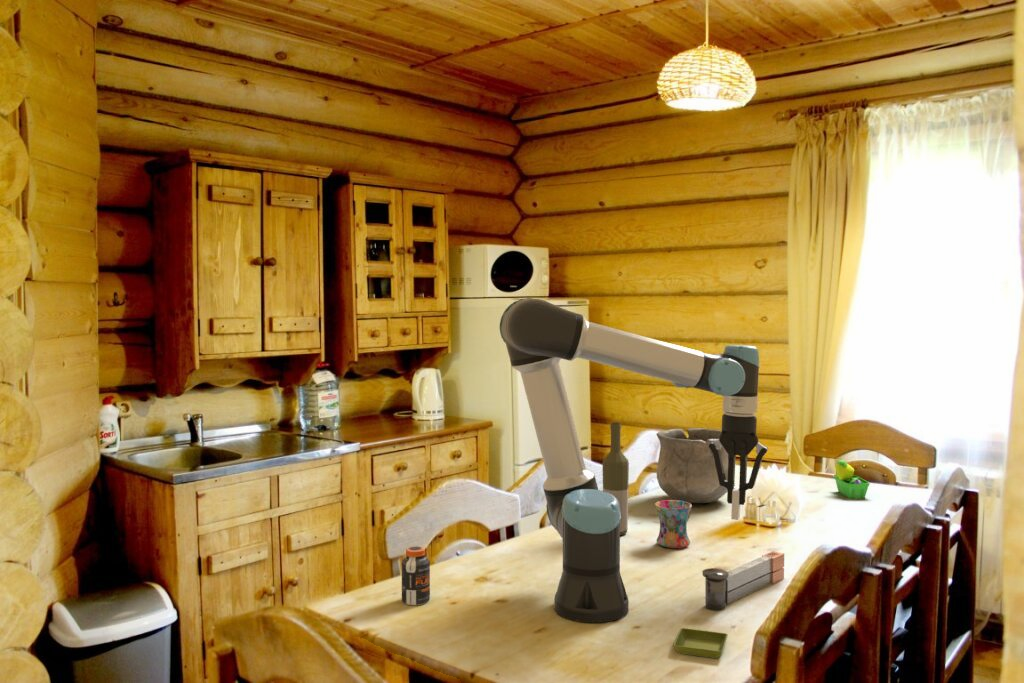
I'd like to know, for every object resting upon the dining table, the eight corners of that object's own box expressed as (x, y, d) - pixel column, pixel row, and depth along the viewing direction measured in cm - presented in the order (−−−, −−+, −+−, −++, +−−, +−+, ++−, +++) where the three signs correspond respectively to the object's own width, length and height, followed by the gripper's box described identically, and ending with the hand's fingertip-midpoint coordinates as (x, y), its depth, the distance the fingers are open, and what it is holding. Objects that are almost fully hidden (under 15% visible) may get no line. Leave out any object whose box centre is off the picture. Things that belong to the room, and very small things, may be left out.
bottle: (621, 538, 221) (621, 425, 219) (597, 534, 225) (597, 423, 223) (633, 532, 227) (633, 422, 225) (610, 528, 231) (610, 420, 229)
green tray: (672, 656, 149) (672, 645, 149) (680, 638, 158) (680, 627, 158) (722, 663, 146) (722, 652, 146) (728, 644, 155) (728, 633, 154)
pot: (677, 489, 278) (677, 424, 276) (746, 498, 264) (746, 431, 263) (642, 504, 257) (642, 435, 256) (715, 515, 244) (715, 442, 242)
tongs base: (719, 613, 168) (719, 578, 168) (697, 607, 172) (697, 572, 172) (788, 579, 188) (789, 548, 188) (767, 574, 192) (767, 543, 192)
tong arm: (729, 592, 173) (729, 577, 173) (717, 588, 175) (717, 574, 175) (784, 566, 189) (784, 553, 189) (772, 563, 191) (772, 550, 191)
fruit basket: (870, 499, 262) (871, 463, 261) (842, 499, 262) (842, 463, 262) (856, 490, 273) (856, 456, 273) (829, 490, 273) (829, 456, 273)
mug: (677, 552, 209) (677, 510, 208) (647, 545, 215) (647, 504, 215) (704, 542, 217) (705, 502, 216) (675, 535, 224) (675, 496, 223)
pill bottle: (418, 608, 173) (417, 554, 172) (395, 602, 176) (395, 549, 175) (435, 599, 178) (435, 546, 177) (413, 594, 181) (413, 542, 180)
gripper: (707, 413, 187) (703, 518, 188) (767, 418, 181) (763, 525, 183) (712, 410, 193) (709, 511, 195) (771, 414, 188) (767, 518, 190)
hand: (735, 518), depth 189 cm, fingers closed
